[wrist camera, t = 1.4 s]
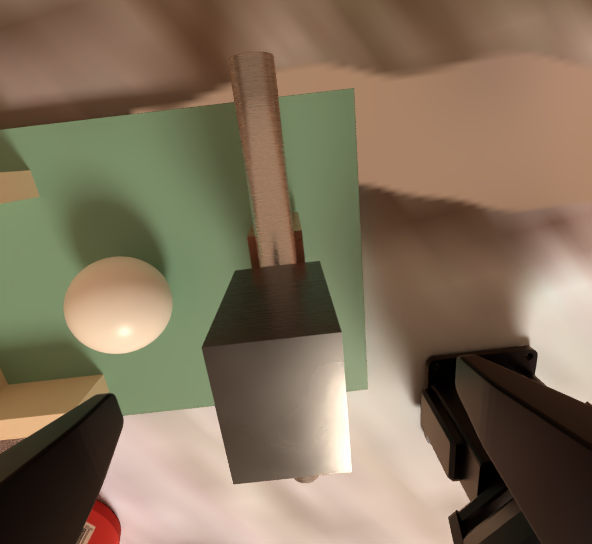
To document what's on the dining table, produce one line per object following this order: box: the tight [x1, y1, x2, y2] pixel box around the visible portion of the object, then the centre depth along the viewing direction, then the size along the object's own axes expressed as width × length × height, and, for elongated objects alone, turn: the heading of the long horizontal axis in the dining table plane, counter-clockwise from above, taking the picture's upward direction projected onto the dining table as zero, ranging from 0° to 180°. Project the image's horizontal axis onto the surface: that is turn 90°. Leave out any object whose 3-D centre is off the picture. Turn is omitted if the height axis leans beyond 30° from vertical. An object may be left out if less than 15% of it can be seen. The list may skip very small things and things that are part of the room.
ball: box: [63, 256, 173, 354], centre depth 15 cm, size 4×4×4 cm
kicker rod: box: [201, 52, 352, 484], centre depth 12 cm, size 3×17×10 cm, turn 6°
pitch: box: [0, 88, 368, 440], centre depth 17 cm, size 22×16×4 cm
